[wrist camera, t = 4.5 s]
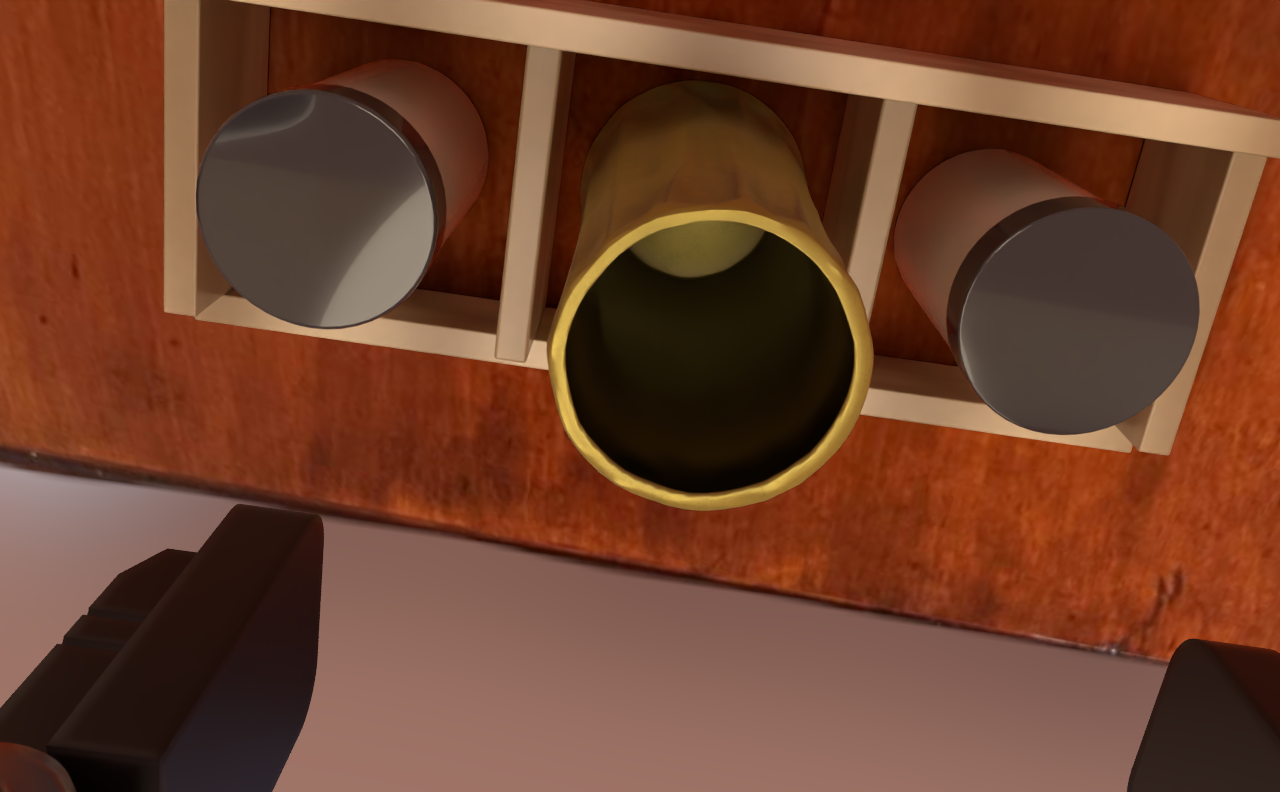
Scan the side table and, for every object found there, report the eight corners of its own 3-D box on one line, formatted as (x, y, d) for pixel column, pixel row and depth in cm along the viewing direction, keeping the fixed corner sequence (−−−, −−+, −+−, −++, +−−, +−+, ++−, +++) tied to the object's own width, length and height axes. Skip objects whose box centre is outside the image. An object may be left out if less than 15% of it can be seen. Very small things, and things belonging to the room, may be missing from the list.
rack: (233, 289, 34) (145, 357, 28) (240, -53, 30) (143, -53, 25) (1093, 412, 34) (1176, 502, 29) (1189, 92, 31) (1304, 123, 25)
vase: (548, 254, 33) (466, 460, 20) (631, 41, 31) (603, 110, 18) (749, 334, 34) (803, 587, 20) (843, 132, 32) (972, 264, 18)
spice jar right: (872, 310, 33) (933, 418, 26) (912, 131, 32) (991, 190, 24) (1046, 336, 33) (1160, 451, 26) (1096, 159, 32) (1233, 226, 24)
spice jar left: (303, 227, 33) (192, 312, 25) (311, 41, 31) (195, 71, 23) (483, 253, 33) (427, 346, 25) (501, 70, 31) (447, 109, 24)
